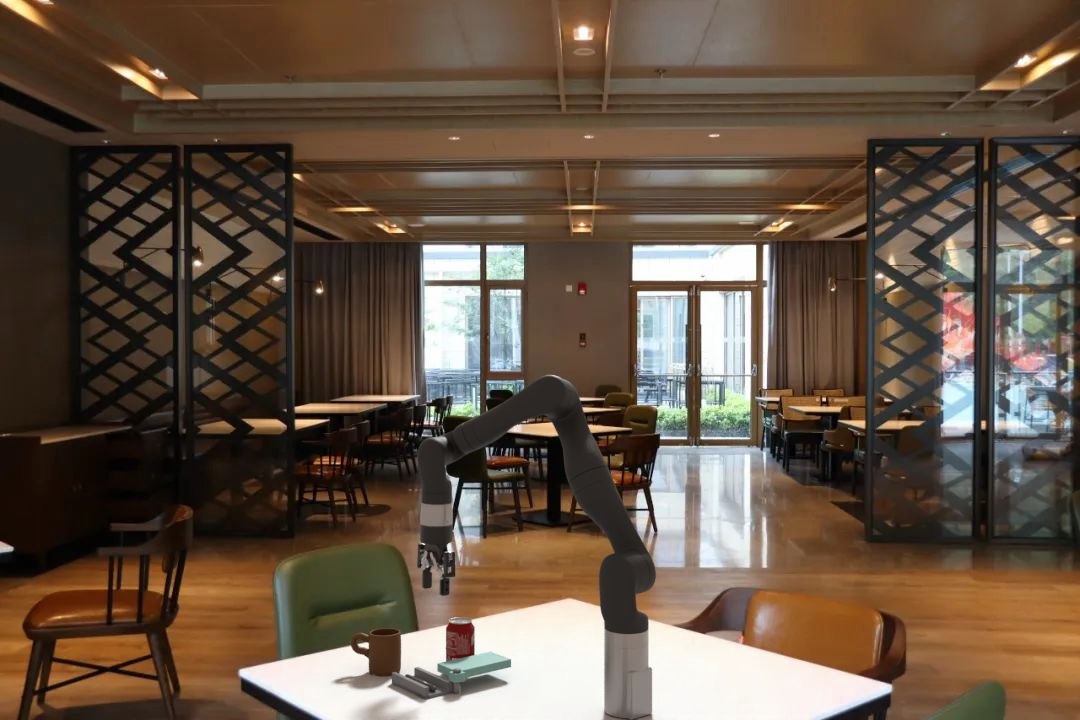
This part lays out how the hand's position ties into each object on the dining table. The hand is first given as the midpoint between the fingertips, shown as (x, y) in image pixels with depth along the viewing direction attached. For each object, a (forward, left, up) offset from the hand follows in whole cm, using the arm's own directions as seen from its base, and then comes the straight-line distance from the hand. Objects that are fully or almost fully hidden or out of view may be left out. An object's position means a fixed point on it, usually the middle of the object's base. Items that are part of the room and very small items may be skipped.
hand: (435, 591), depth 226 cm
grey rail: (-6, +6, -20) cm, 21 cm away
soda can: (0, -7, -20) cm, 21 cm away
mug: (+12, +9, -20) cm, 25 cm away
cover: (-10, -4, -17) cm, 20 cm away
